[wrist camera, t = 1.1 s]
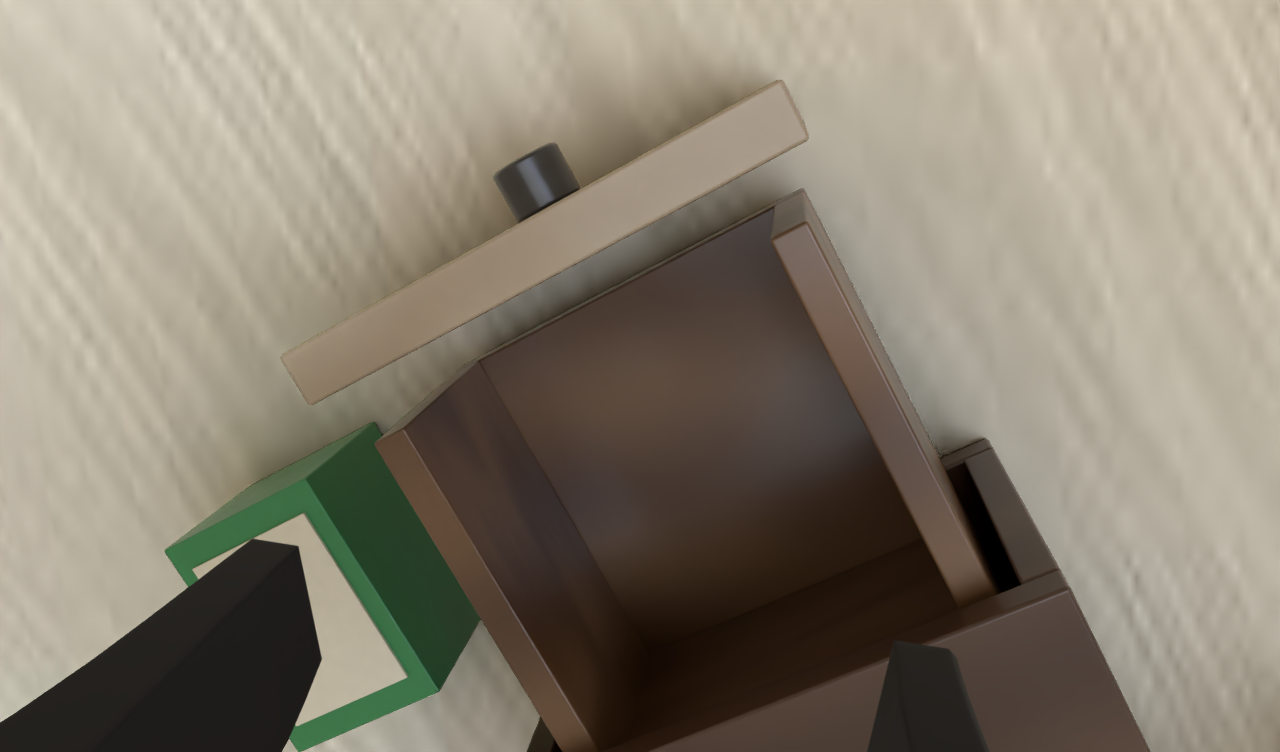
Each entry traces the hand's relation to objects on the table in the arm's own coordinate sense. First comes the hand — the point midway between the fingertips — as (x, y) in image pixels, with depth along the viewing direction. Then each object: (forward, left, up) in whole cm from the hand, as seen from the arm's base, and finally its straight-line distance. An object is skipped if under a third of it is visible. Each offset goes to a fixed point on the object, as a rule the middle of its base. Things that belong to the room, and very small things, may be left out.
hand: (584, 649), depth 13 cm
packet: (-12, -1, -16) cm, 20 cm away
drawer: (-1, -1, -15) cm, 15 cm away
